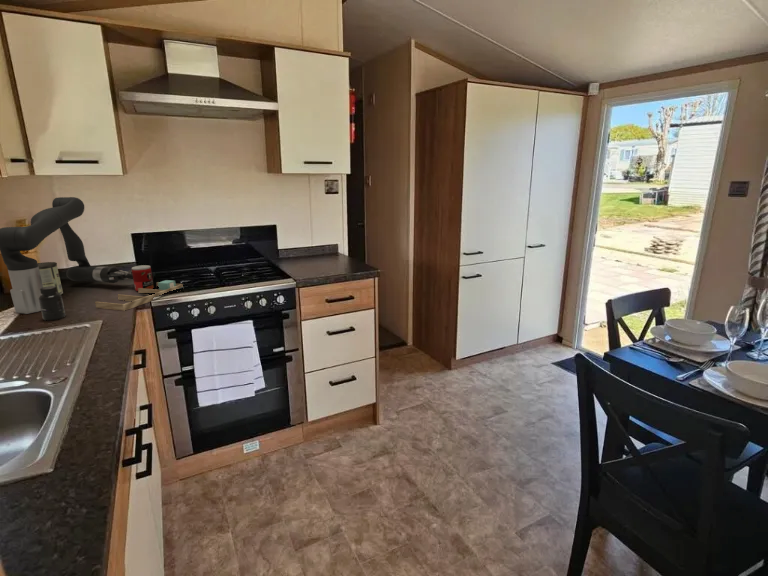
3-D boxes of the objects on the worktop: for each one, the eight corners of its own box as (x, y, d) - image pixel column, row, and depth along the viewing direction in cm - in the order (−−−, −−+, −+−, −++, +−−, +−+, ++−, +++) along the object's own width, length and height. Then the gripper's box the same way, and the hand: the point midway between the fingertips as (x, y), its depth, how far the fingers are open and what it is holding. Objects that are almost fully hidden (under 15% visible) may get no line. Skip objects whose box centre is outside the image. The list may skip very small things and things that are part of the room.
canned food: (146, 292, 191) (142, 269, 188) (131, 291, 193) (127, 268, 190) (158, 288, 198) (154, 265, 195) (143, 287, 200) (139, 264, 197)
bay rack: (124, 310, 166) (123, 304, 166) (96, 307, 170) (95, 301, 169) (183, 289, 196) (182, 284, 196) (157, 287, 200) (157, 282, 199)
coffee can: (33, 294, 189) (25, 264, 185) (61, 290, 196) (54, 261, 192) (36, 299, 182) (28, 268, 178) (65, 294, 189) (58, 264, 185)
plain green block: (168, 294, 189) (167, 283, 188) (159, 293, 190) (157, 282, 189) (176, 291, 194) (175, 280, 192) (167, 290, 195) (166, 280, 194)
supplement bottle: (39, 322, 154) (32, 290, 151) (48, 316, 161) (41, 286, 157) (61, 320, 156) (54, 289, 153) (69, 314, 162) (62, 284, 159)
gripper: (92, 269, 192) (122, 271, 188) (116, 263, 205) (145, 265, 200) (95, 285, 194) (125, 288, 190) (119, 278, 207) (148, 280, 202)
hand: (135, 276), depth 195 cm, fingers closed
